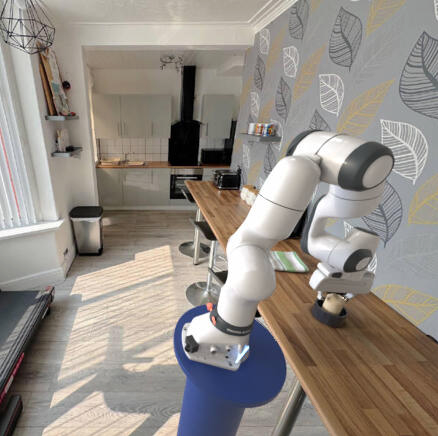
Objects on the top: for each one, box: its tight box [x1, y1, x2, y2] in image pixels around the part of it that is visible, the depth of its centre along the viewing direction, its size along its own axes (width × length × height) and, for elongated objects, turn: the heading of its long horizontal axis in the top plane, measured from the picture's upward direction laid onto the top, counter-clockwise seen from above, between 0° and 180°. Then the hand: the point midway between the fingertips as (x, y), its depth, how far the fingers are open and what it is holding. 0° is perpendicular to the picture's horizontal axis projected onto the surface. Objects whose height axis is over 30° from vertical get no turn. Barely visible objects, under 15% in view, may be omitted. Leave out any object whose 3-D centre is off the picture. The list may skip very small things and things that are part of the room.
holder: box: [311, 297, 349, 328], centre depth 91 cm, size 10×10×5 cm
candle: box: [322, 293, 346, 316], centre depth 90 cm, size 6×6×10 cm
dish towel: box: [269, 250, 310, 274], centre depth 126 cm, size 17×23×4 cm
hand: (332, 299), depth 89 cm, fingers open, 8 cm apart
